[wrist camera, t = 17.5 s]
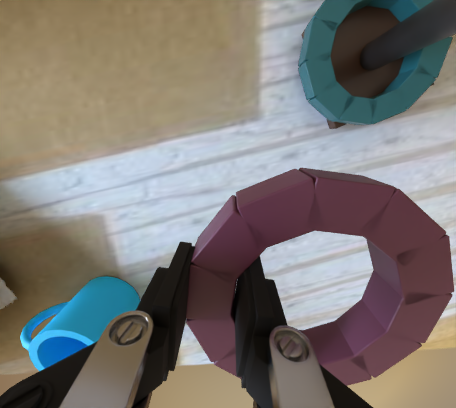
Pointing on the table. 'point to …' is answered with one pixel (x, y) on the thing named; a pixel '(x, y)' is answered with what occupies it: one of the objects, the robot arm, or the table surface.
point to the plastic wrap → (5, 295)
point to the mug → (78, 320)
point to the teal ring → (335, 94)
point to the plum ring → (336, 223)
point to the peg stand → (384, 45)
